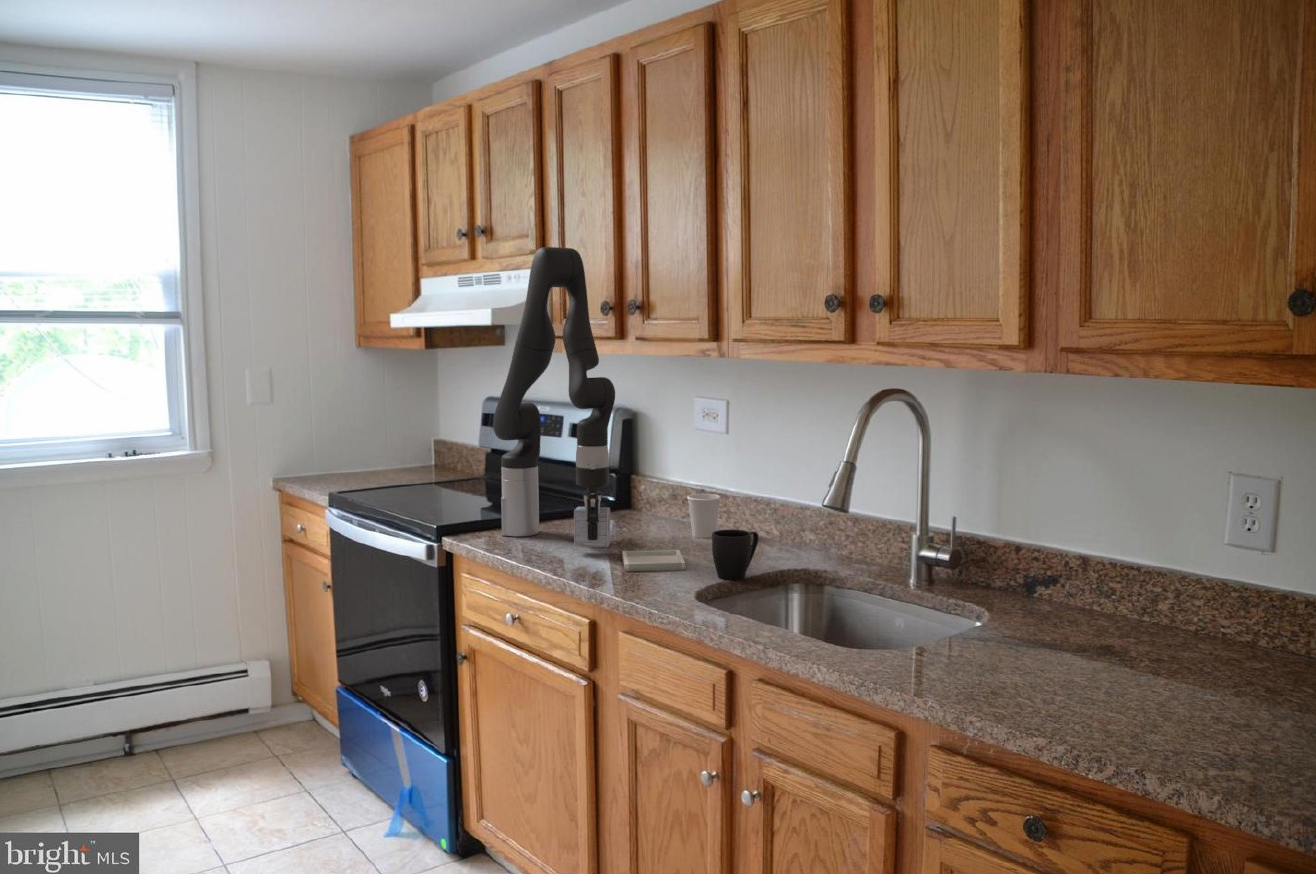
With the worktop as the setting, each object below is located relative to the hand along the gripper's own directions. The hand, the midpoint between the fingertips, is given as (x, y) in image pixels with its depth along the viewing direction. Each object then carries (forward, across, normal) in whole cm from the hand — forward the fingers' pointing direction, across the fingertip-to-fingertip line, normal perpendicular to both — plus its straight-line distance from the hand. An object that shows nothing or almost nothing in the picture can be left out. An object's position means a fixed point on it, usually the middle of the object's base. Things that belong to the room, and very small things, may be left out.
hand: (592, 536), depth 246 cm
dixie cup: (+4, -19, +28) cm, 34 cm away
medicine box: (+2, 0, 0) cm, 2 cm away
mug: (+4, +24, +30) cm, 39 cm away
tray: (+4, +11, +13) cm, 18 cm away
